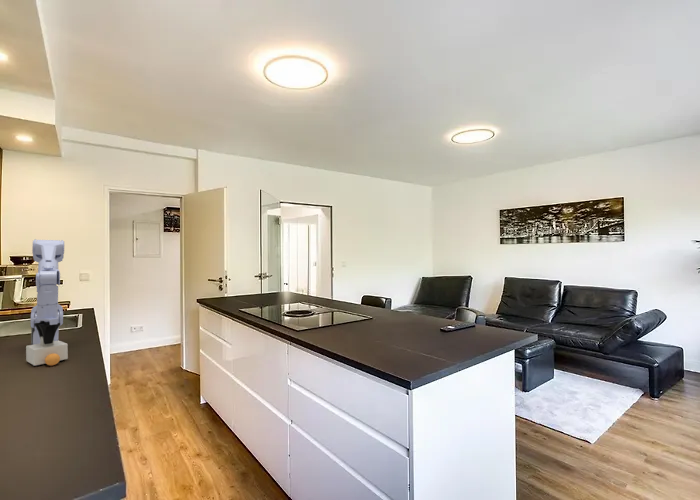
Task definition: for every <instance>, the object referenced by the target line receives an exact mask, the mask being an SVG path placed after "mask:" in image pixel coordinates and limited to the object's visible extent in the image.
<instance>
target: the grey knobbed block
mask: <svg viewBox="0 0 700 500" xmlns="http://www.w3.org/2000/svg"><path fill="white" fill-rule="evenodd" d="M68 347H69V345H68V343H66V342H64V341H62V340H59V339H58V341H54V340H53V343H50V344H44V341H43V336H42V337H40V344H34V345H31V344H29V345H26V347H25V349H26V350H25V356H26V357H25V358H26V359H25V361H26V362H28V363H29V364H31V365H32V366H40V365H44V364H46V363H45V358H46V357H47V356H48V355H49V354H53V353H55V354H58V355H59V356H60V361H63V360H68V359H69V357H68V356H69V355H68V354H69V351H68Z"/></svg>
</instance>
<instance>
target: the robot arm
mask: <svg viewBox="0 0 700 500" xmlns="http://www.w3.org/2000/svg"><path fill="white" fill-rule="evenodd" d="M31 251H32V253H31V254H32V259H33V261H34V262H36V263H38V264H37V272H36V273H35V286H36V292H37V293H36V305H35V306H34V307H32V308H31V310H30V311H31V313H30V328H31V327H32V328H34V325H35V331H34V333H33V345H34V344H40V337H42V336H43V341H44V344H50V343H53V340H54V341H58V340H59V333H60V330H59V329H60V326H62V325H63V324H64V311H63V310H64V307H63V306H62V305H61V304H59V286H60V284H61V272H60V269H59V263H60V262H63V259H64V255H65V241H64V240H63V239H61V240H60V239H57V240H56V239H55V240H54V239H36V238H35V239H33V240H32V250H31Z"/></svg>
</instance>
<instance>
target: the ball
mask: <svg viewBox="0 0 700 500" xmlns="http://www.w3.org/2000/svg"><path fill="white" fill-rule="evenodd" d="M60 361H61V360H60V356H59V355H58V354H55V353H53V354H49V355H48V356H47V357H46V358H45V364H46V365H47V366H51V367H52V366H55V365H57V364H58V363H60Z"/></svg>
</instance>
